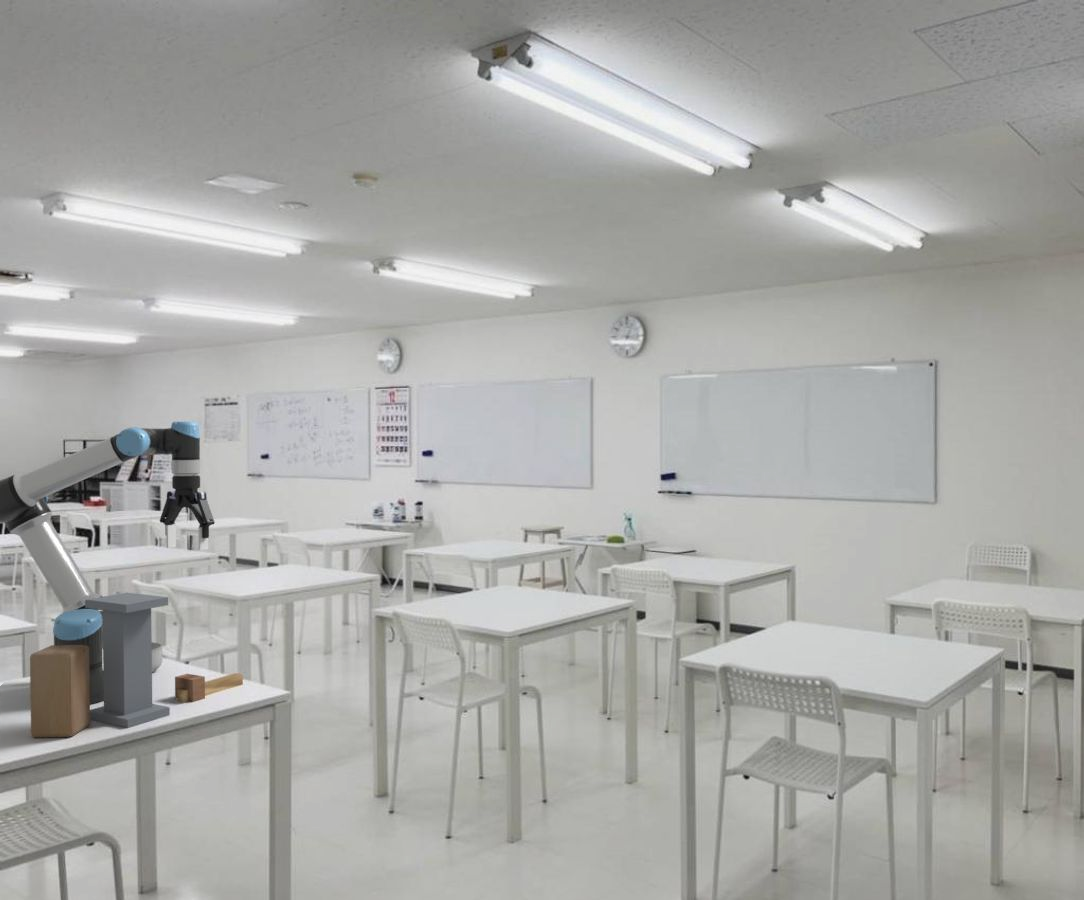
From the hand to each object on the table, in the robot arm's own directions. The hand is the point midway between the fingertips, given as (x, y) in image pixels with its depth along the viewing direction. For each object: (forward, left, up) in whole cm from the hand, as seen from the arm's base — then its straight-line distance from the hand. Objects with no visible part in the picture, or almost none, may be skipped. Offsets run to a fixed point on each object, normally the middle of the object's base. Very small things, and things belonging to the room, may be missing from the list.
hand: (187, 548), depth 266 cm
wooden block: (+10, -45, -39) cm, 61 cm away
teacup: (-24, +2, -39) cm, 46 cm away
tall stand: (+14, -30, -39) cm, 51 cm away
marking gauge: (+14, -4, -39) cm, 41 cm away
